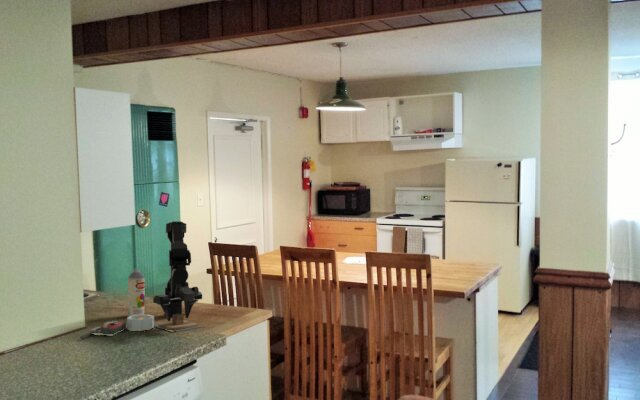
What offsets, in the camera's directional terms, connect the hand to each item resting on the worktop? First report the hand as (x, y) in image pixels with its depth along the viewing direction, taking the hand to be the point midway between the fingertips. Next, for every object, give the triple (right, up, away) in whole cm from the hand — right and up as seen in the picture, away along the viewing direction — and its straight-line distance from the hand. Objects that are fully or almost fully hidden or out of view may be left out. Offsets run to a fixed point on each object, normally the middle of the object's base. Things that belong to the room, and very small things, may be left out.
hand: (178, 319), depth 221 cm
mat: (0, -3, 0) cm, 3 cm away
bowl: (-13, -3, -4) cm, 14 cm away
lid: (0, -3, 0) cm, 3 cm away
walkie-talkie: (-24, -3, -13) cm, 27 cm away
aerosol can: (-22, -3, +18) cm, 29 cm away
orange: (-13, 0, -4) cm, 14 cm away
